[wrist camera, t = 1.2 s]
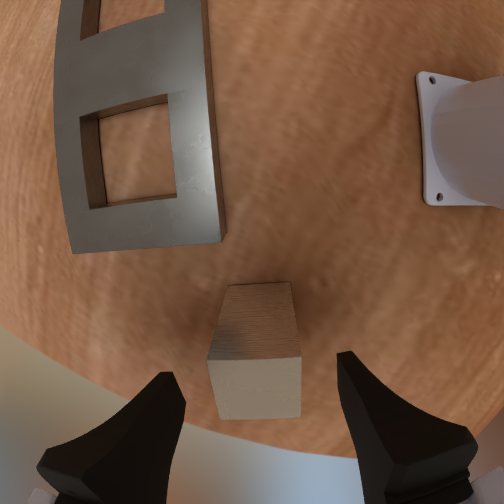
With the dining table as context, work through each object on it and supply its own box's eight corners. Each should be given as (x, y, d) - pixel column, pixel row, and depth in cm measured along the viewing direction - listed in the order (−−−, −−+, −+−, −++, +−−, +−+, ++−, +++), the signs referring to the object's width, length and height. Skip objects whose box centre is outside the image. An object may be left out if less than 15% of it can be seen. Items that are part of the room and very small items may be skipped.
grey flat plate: (204, -62, 10) (198, -78, 9) (226, 232, 17) (221, 242, 15) (81, -24, 11) (68, -34, 9) (89, 244, 17) (72, 254, 15)
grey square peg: (289, 282, 17) (301, 356, 11) (291, 333, 18) (300, 417, 12) (227, 285, 18) (206, 360, 11) (234, 336, 19) (220, 419, 12)
